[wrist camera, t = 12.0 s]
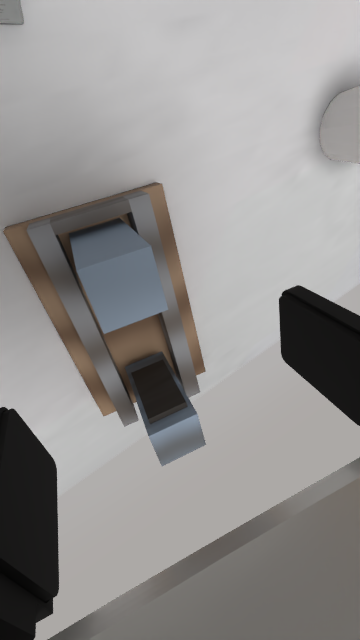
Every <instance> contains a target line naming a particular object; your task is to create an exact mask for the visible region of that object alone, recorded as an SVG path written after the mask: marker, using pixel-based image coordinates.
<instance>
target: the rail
mask: <svg viewBox="0 0 360 640" xmlns="http://www.w3.org/2000/svg"><path fill="white" fill-rule="evenodd" d="M117 218H120V219H122V220H123V221H124V222H125V223H126V224H127V225H128V226H129V227H131V228H132V229H133V230H134V231H135V232H136V233H137V234H138V235H140V236H141V237H142V238H143V239H144V240H145V241H146V242H147V243H148V244H150V245H151V248H152V251H153V255H154V259H155V262H156V266H157V270H158V273H159V277H160V281H161V284H162V288H163V292H164V295H165V299H166V303H167V306H168V310H166V311H163V312H161V313H159V314H156V315H153V316H151V317H148V318H146V319H143V320H140V321H138V322H135V323H132V324H130V325H127V326H125V327H122V328H119V329H117V330H114V331H111V332H108V333H105V334H104V333H103V331H102V329H101V326H100V324H99V322H98V319H97V317H96V315H95V312H94V310H93V308H92V305H91V303H90V301H89V299H88V296H87V294H86V292H85V289H84V287H83V285H82V282H81V280H80V278H79V275H78V273H77V271H76V266H75V261H74V257H73V252H72V247H71V242H70V237H69V233H71V232H75V231H78V230H81V229H84V228H88V227H91V226H94V225H98V224H101V223H104V222H107V221H111V220H114V219H117ZM3 232H4V234H5V236H6V238H7V240H8V241H9V243H10V245H11V247H12V249H13V251H14V252H15V254H16V256H17V258H18V260H19V262H20V263H21V265H22V267H23V269H24V271H25V273H26V274H27V276H28V278H29V280H30V282H31V284H32V285H33V287H34V289H35V291H36V293H37V295H38V297H39V298H40V300H41V302H42V304H43V306H44V308H45V309H46V311H47V313H48V315H49V317H50V319H51V320H52V322H53V324H54V326H55V328H56V330H57V331H58V333H59V335H60V337H61V339H62V341H63V342H64V344H65V346H66V348H67V350H68V352H69V354H70V355H71V357H72V359H73V361H74V363H75V365H76V366H77V368H78V370H79V372H80V374H81V376H82V377H83V379H84V381H85V383H86V385H87V387H88V388H89V390H90V392H91V394H92V396H93V398H94V399H95V401H96V403H97V405H98V407H99V409H100V411H101V412H102V414H103V416H106V415H108V414H110V413H113V412H115V411H117V413H118V415H119V417H120V419H121V421H122V423H123V425H124V427H125V426H127V425H129V424H131V423H134V422H136V421H138V417H137V414H136V411H135V408H134V404H133V403H135V402H137V404H138V407H139V410H140V413H141V415H142V418H143V421H144V424H145V427H146V430H147V433H148V436H149V438H150V440H151V443H152V445H153V447H154V450H155V452H156V454H157V456H158V458H159V461H160V463H161V465H162V466H164V465H166V464H167V463H170V462H172V461H174V460H176V459H178V458H180V457H182V456H184V455H186V454H188V453H190V452H192V451H194V450H196V449H198V448H200V447H202V446H204V445H206V443H205V440H204V436H203V432H202V429H201V426H200V422H199V419H198V415H197V412H196V411H195V409H194V407H193V405H192V404H191V402H190V400H189V398H188V397H191V396H193V395H195V394H197V393H199V392H200V390H199V386H198V382H197V378H196V375H198V374H201V373H203V372H205V367H204V363H203V359H202V354H201V350H200V346H199V341H198V337H197V333H196V328H195V324H194V320H193V315H192V311H191V307H190V302H189V298H188V294H187V289H186V285H185V281H184V277H183V272H182V268H181V264H180V259H179V255H178V251H177V246H176V242H175V238H174V233H173V229H172V225H171V220H170V216H169V212H168V207H167V203H166V199H165V195H164V190H163V186H162V184H160V183H153V184H150V185H147V186H143V187H140V188H137V189H133V190H130V191H127V192H123V193H120V194H116V195H113V196H110V197H106V198H103V199H100V200H96V201H93V202H89V203H86V204H83V205H79V206H76V207H73V208H69V209H66V210H62V211H59V212H56V213H52V214H49V215H46V216H42V217H39V218H36V219H32V220H29V221H25V222H22V223H19V224H15V225H12V226H9V227H6V228H5V229H4V231H3Z"/></svg>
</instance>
